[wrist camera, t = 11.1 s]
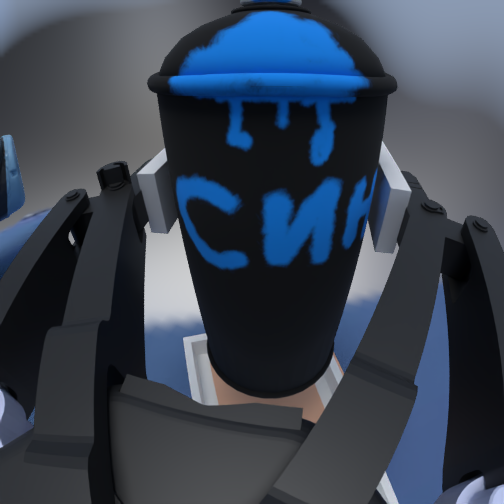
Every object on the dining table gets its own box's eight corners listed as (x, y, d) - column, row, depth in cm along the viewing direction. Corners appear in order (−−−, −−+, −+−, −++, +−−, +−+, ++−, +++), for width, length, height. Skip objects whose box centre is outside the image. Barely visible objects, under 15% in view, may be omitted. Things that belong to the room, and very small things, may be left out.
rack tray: (190, 355, 29) (183, 337, 27) (309, 328, 32) (314, 309, 29) (247, 586, 11) (245, 596, 9) (398, 535, 13) (415, 537, 11)
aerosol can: (209, 298, 22) (167, -11, 9) (319, 290, 22) (346, -12, 9) (206, 403, 15) (92, -59, 2) (345, 390, 16) (456, -40, 3)
